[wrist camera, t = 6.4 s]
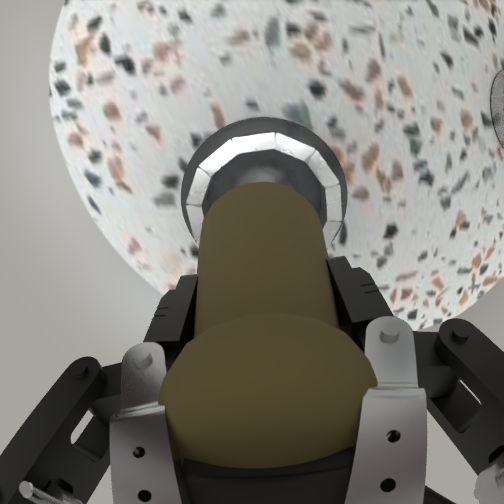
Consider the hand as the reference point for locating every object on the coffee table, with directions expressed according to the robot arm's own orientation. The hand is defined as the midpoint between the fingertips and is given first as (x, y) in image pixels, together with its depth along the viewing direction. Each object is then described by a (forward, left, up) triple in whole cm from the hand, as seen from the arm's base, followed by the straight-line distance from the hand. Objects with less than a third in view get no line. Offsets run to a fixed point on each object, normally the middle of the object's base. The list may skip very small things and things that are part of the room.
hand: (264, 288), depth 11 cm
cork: (0, 0, -4) cm, 4 cm away
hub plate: (0, 0, -12) cm, 12 cm away
